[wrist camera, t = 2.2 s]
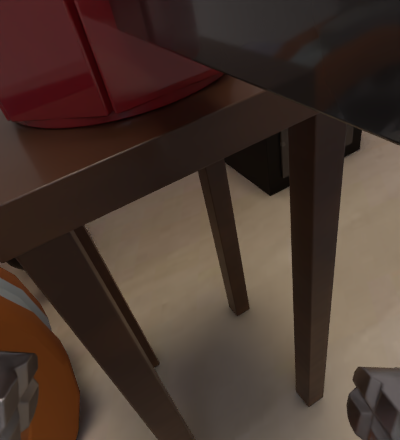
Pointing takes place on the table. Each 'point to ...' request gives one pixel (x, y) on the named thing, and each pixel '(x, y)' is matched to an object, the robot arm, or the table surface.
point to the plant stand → (149, 182)
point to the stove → (276, 159)
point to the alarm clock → (40, 361)
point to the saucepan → (198, 57)
